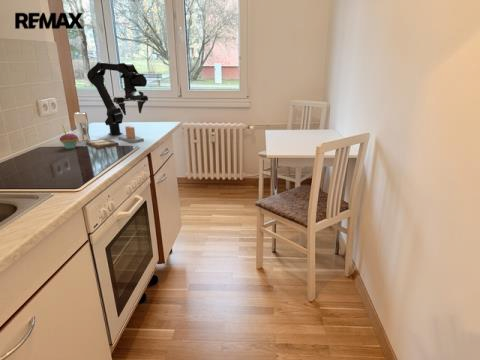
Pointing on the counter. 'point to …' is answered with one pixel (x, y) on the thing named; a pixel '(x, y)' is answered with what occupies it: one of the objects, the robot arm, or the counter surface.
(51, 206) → the counter surface
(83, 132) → the beer glass
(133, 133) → the gray plate with block
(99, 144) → the block
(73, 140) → the cupcake
